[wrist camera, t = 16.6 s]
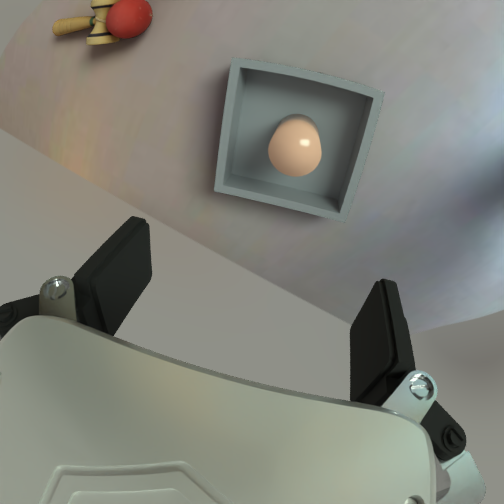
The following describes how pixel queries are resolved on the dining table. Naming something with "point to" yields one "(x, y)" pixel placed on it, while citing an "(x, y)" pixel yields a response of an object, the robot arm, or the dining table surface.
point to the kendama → (109, 21)
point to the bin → (267, 120)
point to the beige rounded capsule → (295, 146)
